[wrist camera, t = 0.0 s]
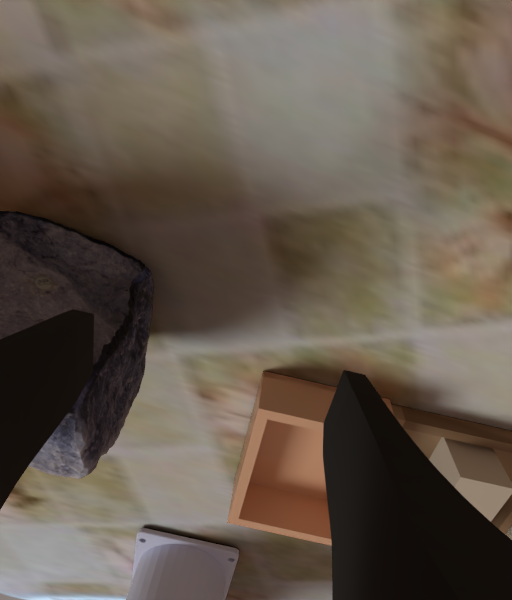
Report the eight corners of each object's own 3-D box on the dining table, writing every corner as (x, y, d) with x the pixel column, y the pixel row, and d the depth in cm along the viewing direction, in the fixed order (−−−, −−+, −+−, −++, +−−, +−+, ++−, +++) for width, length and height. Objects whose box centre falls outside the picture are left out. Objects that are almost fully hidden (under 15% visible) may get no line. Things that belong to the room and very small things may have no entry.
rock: (200, 284, 22) (123, 424, 13) (160, 356, 24) (72, 518, 15) (18, 185, 20) (-217, 262, 11) (-5, 273, 23) (-213, 395, 14)
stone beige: (462, 489, 26) (481, 534, 24) (417, 479, 26) (430, 523, 24) (491, 446, 24) (515, 489, 22) (442, 434, 24) (460, 476, 22)
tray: (472, 549, 29) (478, 566, 28) (336, 519, 29) (338, 535, 28) (554, 440, 24) (566, 456, 23) (391, 403, 24) (395, 418, 23)
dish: (341, 503, 28) (345, 548, 26) (234, 479, 28) (227, 522, 26) (389, 399, 24) (401, 440, 21) (263, 371, 24) (258, 408, 21)
